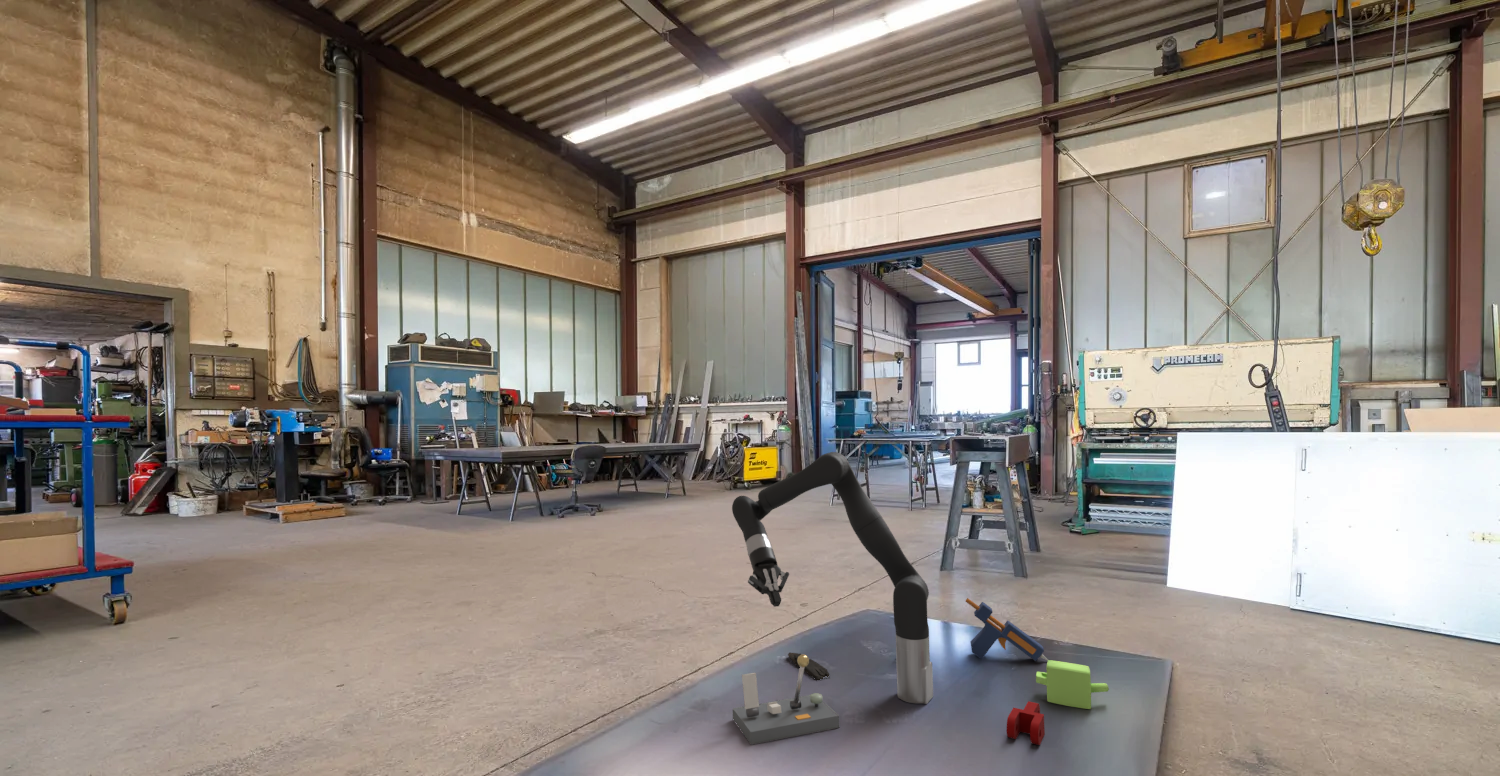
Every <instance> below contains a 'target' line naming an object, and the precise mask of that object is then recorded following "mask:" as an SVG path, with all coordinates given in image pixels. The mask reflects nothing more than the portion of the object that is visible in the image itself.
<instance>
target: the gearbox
mask: <svg viewBox="0 0 1500 776" xmlns="http://www.w3.org/2000/svg"><path fill="white" fill-rule="evenodd" d="M1046 662H1047V663H1046V672H1045V671H1036V674H1035V683H1036V684H1039V685H1044V686H1046V701H1047V702H1049V703H1052V704H1057V705H1061V706H1067V707H1072V708H1079V709H1084V710H1085V709H1087V710H1091V709H1092V693H1094V694H1095V693H1105V692H1106V693H1108V692H1109V690H1110V688H1109V685H1108V684H1107V683H1106V682H1105V683H1104V682H1098V683H1097V682H1096V683H1093V682H1091V680H1092V678H1091V669H1090V666H1088V665H1085V664H1078V663H1071V662H1068V661H1067V662H1066V661H1058V660H1052V659H1051V660H1049V659H1048V661H1046Z"/></svg>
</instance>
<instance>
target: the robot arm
mask: <svg viewBox="0 0 1500 776" xmlns="http://www.w3.org/2000/svg"><path fill="white" fill-rule="evenodd" d="M827 485H832V487H833V488H834V490H835V491H836V492H837V494H838V495H839V497H840V499H841V502H842V503H843V505H844V509H845V513H846V515H847V519H848V521H849V523H850V526H851V528H852V530H853V532H854V534H855V535H856V537H857V538H858V540H859V542H860V543H861V544H862V545H863V547H864V548H865V550H866V551H867V552H868V553H869V554H870V555H871V556H872V557H873V558H874V559H875V560H876V561H877V562H878V563H879V564H880V565H881V566H882V568H883V569H884V570H885V572H886V573H887V576H888V577H889V579H890V581H891V582H892V584H893V586H894V590H893V594H892V599H893V600H892V601H893V602H892V603H893V604H892V605H893V621H894V622H893V624H894V627H895V629H894V630H895V654H896V655H895V657H896V662H895V663H896V690H897V691H896V693H897V698H898V699H900V700H901V701H903V702H906V703H909V704H925V705H927V704H928V703H929V702H930V701H931V699H933V697H934V681H933V680H934V679H933V678H934V677H933V673H934V672H933V662H932V661H930V660H931V659H930V658H931V655H930V626H929V623H928V621H929V620H928V599H929V593H930V592H929V587H928V584H927V583H926V581H925V580H924V579H923V577H922V576H921V575H920V574H919V573H918V571H917V570H916V568H915V567H914V566H913V565H912V563H911V562H910V561H909V559H908V558H907V556H906V555H905V554H904V552H903V550H902V549H901V547H900V545H899V543H898V541H897V539H896V537H895V536H894V534H893V533H892V531H891V529H890V527H889V526H888V524H887V523H886V521H885V520H884V518H883V517H882V515H881V514H880V512H879V510H878V509H877V508H876V506H875V504H874V503H873V502H872V500H871V499H870V497H869V496H868V495H867V493H866V492H865V490H864V489H863V487H862V485H861V484H860V482H859V480H858V478H857V476H856V474H855V472H854V469H852V466H851V464H850V462H849V461H848V459H847V458H846V456H845V455H843V454H842V453H839V452H837V451H831V452H827V453H824V454H822V455H820V456H819V457H818V458H817V459H815V460H814V461H812V462H811V463H810V464H809V465H808V466H806V467H804V468H803V469H801V470H799V471H798V472H796V473H794V474H792V475H791V476H788V477H786V478H784V479H782V480H779V481H777V482H775V483H773V484H770V485H769V486H768V487H764V488H763V489H761V490H760V491H759V492H758V494H757V495H758V496H757V497H758V498H757V499H758V500H756V501H755V500H754V499H752V498H750V497H748V496H746V495H738V496H737V497H735V499H734V500H733V502H732V505H731V506H732V507H731V510H732V511H731V512H732V514H733V517H734V520H735V522H736V523H737V526H738V527H739V528H740V530H741V533H742V535H743V539H744V542H745V546H746V551H747V555H748V558H749V562H750V564H751V568H752V571H753V572H752V575H750V576H749V577H748V580H747V583H748V585H750V586H751V587H752V588H754V589H755V590H756V591H758V593H760V594H761V595H767V597H768V598H769V601H770V604H771V605H772V606H773V608H775V607H780V604H781V603H782V598H781V594H780V593H782V592H783V589H784V587H785V585H786V583H787V580H788V578H789V576H790V573H789V572H788V571H786V572H784V571H782V569H781V568H780V567H779V565H778V562H777V561H778V560H777V557H776V554H775V552H774V551H775V550H774V549H773V546H772V544H771V541H770V539H769V537H768V533H767V530H766V527H765V525H764V524H763V522H762V520H763V519H764V518H765V517H766V516H768V515H769V514H770V513H771V512H772V511H773V510H775V509H777V508H779V507H781V506H783V505H785V504H787V503H789V502H791V501H793V500H795V498H797V497H799V496H801V495H802V494H804V493H806V492H809V491H811V490H814V489H816V488H819V487H823V486H827ZM779 578H780V580H781V581H780V583H778V580H779Z"/></svg>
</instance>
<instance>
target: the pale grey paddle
mask: <svg viewBox="0 0 1500 776" xmlns="http://www.w3.org/2000/svg"><path fill="white" fill-rule="evenodd" d="M741 680H742V690H743V691H742V692H743V702H744V706H745V709H746V715H747V717H753V716H758V715H759V709H758V707H759V704H760V702H759V692H758V691H759V690H758V682H757V681H758V679H757V673H756V672H751V673H744V674H741Z"/></svg>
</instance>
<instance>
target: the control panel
mask: <svg viewBox="0 0 1500 776" xmlns="http://www.w3.org/2000/svg"><path fill="white" fill-rule="evenodd" d="M810 695H811V694H809V695H801V696H799V700H800V701H801V708H798V709H791V707H790V701H794V697H791V698H786V699H779V700H775V701H773V700H772V702H777V704H779V705H780V706H781V713H777V714H772V713H770V712H769V711H768V708H767V704H768V703H770V702H771V701H770V702H769V701H768V702H762V703H759V707H758V709H759V715H758V716H753V717H747V715H746V709H745V705H744V706H739V707H733V708H732V720H733V719H734V721H735V722H736V723H737V725H738V726H739V728H740V729H741V731H742V732H743V733H742V732H741V731H740V732H741V733H742V735H743V734H744V735H745V736H744V735H743V736H744V738H745V739H746V738H747V739H746V740H747V741H748V743H749V744H750V745H758V744H763V743H768V742H772V741H779V740H783V739H789V738H793V737H798V736H804V735H808V734H814V733H818V732H824V731H829V730H834V729H839V728H840V715H839V714H838V713H837V712H836V711H834V709H832V708H831V707H830V706H829V705H828V704H827V703H826V702H825V701H823V700H822V703H820V704H818V707H815V704H814V703H811V702H810ZM734 721H733V722H734ZM735 722H734V723H735ZM737 725H736V726H737ZM738 726H737V727H738ZM739 728H738V729H739ZM740 729H739V730H740Z"/></svg>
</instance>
